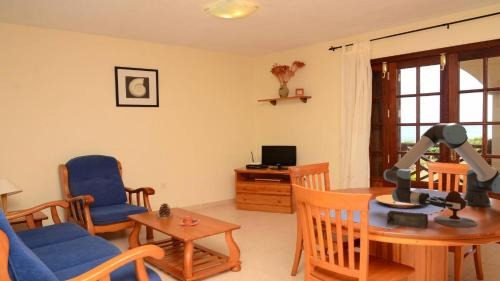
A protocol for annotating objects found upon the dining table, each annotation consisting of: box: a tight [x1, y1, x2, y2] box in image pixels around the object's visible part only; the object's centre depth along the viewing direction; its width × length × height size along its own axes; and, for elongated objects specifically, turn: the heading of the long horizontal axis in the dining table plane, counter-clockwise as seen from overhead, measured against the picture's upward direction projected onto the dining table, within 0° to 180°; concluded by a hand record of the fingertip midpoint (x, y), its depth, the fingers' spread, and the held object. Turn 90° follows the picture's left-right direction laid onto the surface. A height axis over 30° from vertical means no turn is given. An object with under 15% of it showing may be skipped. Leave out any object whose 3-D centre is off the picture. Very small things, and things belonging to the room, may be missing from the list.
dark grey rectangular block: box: [386, 210, 429, 229], centre depth 191 cm, size 8×19×7 cm, turn 60°
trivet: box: [433, 215, 478, 228], centre depth 195 cm, size 20×20×1 cm
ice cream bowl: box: [444, 190, 467, 220], centre depth 195 cm, size 11×11×15 cm
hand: (463, 204), depth 192 cm, fingers closed on ice cream bowl, 11 cm apart
